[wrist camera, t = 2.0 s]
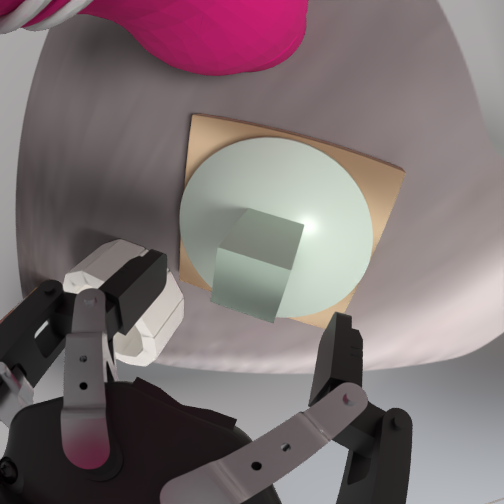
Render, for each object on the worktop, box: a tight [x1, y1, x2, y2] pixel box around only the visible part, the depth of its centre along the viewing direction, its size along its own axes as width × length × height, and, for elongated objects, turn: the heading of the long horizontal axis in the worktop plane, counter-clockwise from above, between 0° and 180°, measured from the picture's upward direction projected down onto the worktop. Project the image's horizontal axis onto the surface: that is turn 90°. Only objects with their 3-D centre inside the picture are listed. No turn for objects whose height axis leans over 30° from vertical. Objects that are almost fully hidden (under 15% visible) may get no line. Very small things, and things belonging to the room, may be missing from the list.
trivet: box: [179, 114, 406, 329], centre depth 17 cm, size 12×12×1 cm
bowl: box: [63, 239, 184, 366], centre depth 23 cm, size 10×10×5 cm
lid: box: [180, 136, 373, 323], centre depth 15 cm, size 12×12×5 cm
